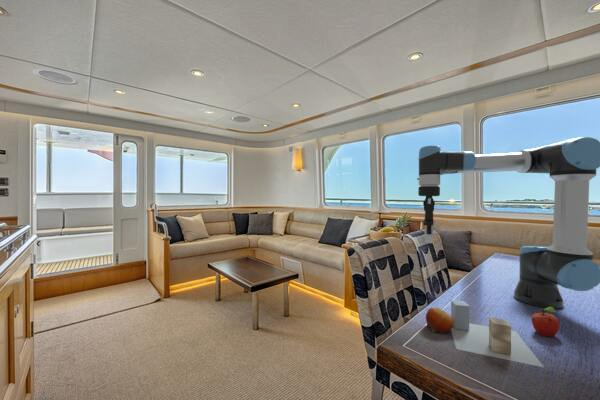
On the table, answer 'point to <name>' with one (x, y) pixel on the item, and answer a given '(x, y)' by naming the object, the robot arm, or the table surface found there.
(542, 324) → the apple
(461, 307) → the slate block
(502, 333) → the beech block
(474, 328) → the felt mat
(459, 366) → the table surface
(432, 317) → the fruit
